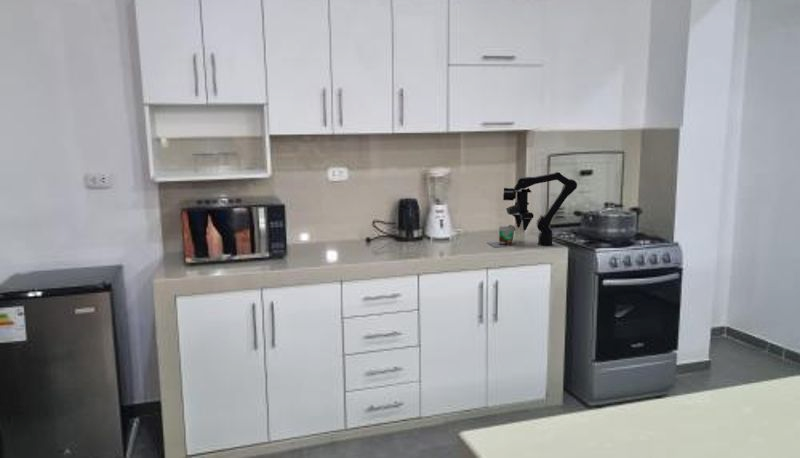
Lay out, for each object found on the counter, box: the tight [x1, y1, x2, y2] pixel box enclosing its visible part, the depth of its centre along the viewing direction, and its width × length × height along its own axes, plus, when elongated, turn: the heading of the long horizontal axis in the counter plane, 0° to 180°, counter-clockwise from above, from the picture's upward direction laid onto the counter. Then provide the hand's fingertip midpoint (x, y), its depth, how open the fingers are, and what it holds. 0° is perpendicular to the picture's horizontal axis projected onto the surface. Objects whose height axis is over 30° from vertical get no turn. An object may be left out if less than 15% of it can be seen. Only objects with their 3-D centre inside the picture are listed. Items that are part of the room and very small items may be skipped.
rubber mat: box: [486, 241, 507, 249], centre depth 321 cm, size 6×12×1 cm, turn 9°
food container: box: [498, 224, 517, 246], centre depth 322 cm, size 12×6×10 cm, turn 143°
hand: (521, 228), depth 322 cm, fingers open, 9 cm apart
